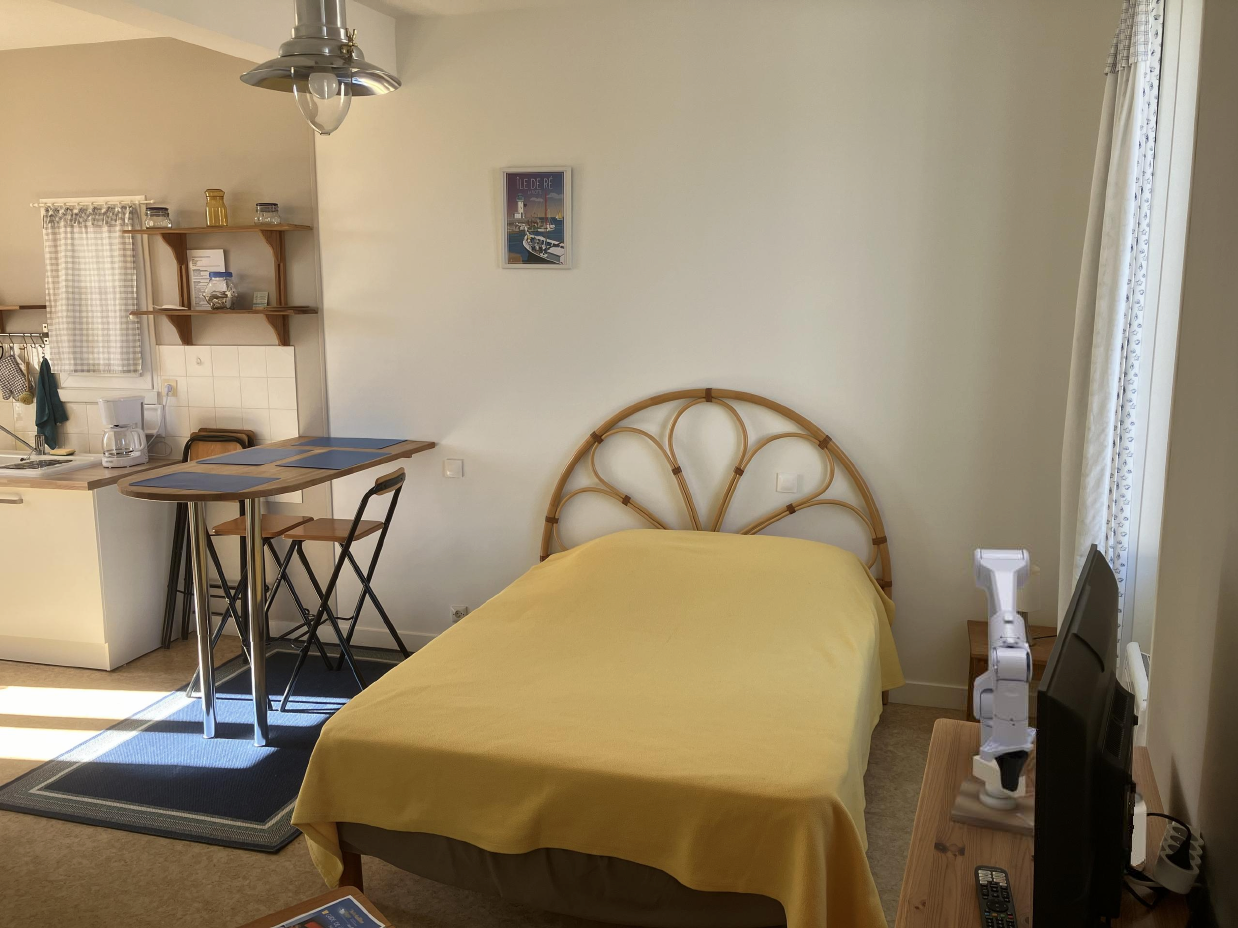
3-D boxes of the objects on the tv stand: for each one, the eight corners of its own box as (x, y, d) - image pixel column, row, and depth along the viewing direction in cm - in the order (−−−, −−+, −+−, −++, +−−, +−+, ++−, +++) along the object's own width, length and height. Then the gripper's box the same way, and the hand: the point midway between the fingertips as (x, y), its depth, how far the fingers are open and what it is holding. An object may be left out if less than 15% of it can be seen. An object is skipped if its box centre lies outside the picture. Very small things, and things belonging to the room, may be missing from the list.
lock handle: (968, 783, 176) (968, 756, 175) (987, 778, 178) (987, 751, 177) (1010, 806, 167) (1010, 778, 166) (1029, 800, 168) (1029, 772, 168)
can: (1150, 876, 150) (1152, 805, 148) (1106, 874, 151) (1107, 802, 149) (1137, 854, 156) (1139, 785, 154) (1094, 852, 157) (1096, 783, 156)
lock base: (964, 784, 182) (964, 769, 182) (1043, 797, 176) (1044, 782, 175) (951, 820, 169) (951, 804, 169) (1036, 837, 163) (1036, 820, 162)
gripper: (1005, 732, 158) (1005, 809, 160) (1055, 711, 166) (1054, 785, 168) (969, 719, 164) (968, 794, 166) (1019, 699, 172) (1018, 771, 174)
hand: (1009, 788), depth 167 cm, fingers closed, pressing on lock handle
